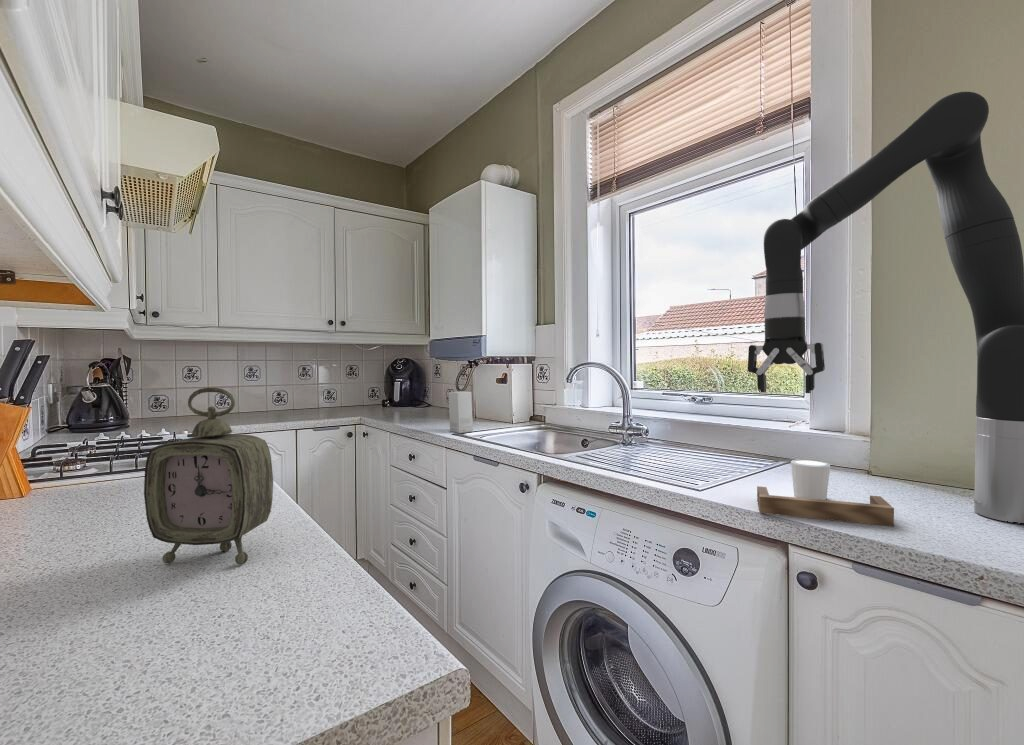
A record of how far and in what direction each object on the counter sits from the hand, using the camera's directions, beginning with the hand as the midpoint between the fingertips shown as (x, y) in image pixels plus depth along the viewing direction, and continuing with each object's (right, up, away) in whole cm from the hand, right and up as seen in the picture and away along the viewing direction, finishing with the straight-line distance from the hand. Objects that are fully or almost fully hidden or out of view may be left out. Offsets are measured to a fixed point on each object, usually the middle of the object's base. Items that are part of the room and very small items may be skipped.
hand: (785, 392), depth 106 cm
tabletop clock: (-102, -23, -33) cm, 109 cm away
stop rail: (-2, -21, -16) cm, 27 cm away
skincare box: (-78, -19, +87) cm, 119 cm away
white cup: (+2, -21, -6) cm, 22 cm away
